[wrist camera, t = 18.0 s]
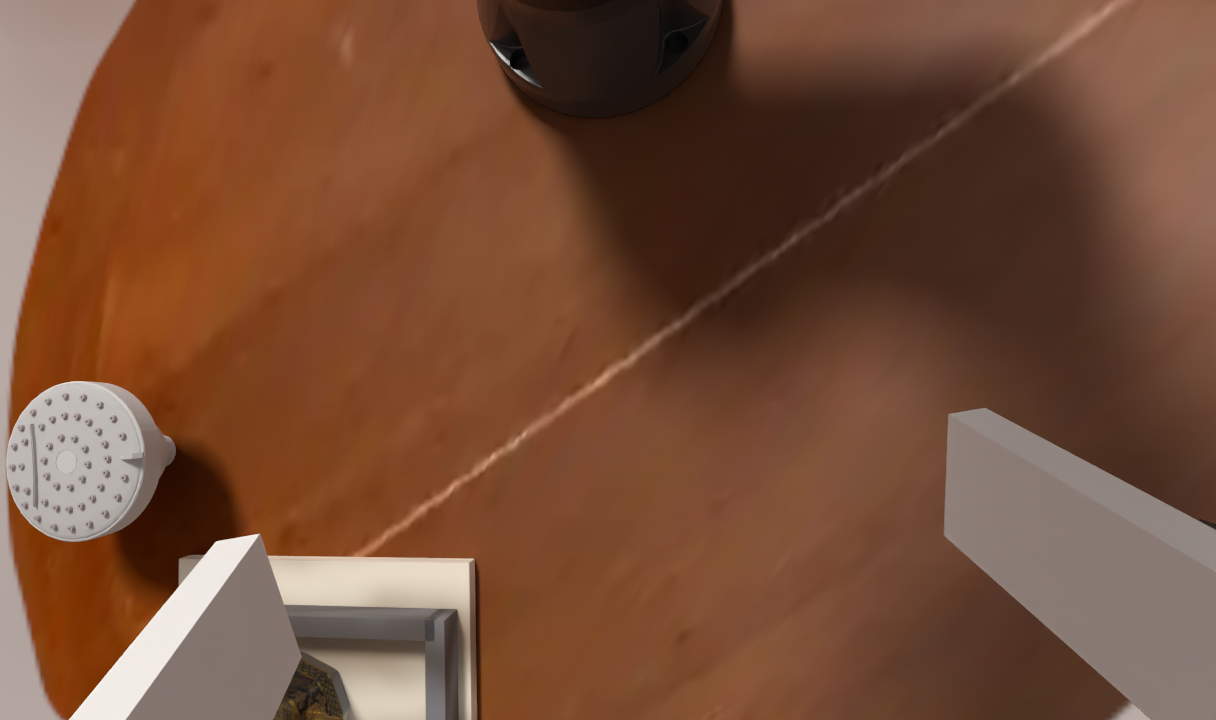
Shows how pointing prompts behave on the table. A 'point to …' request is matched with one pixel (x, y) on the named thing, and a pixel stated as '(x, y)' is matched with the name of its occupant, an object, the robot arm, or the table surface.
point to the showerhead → (85, 460)
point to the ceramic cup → (314, 693)
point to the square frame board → (385, 630)
